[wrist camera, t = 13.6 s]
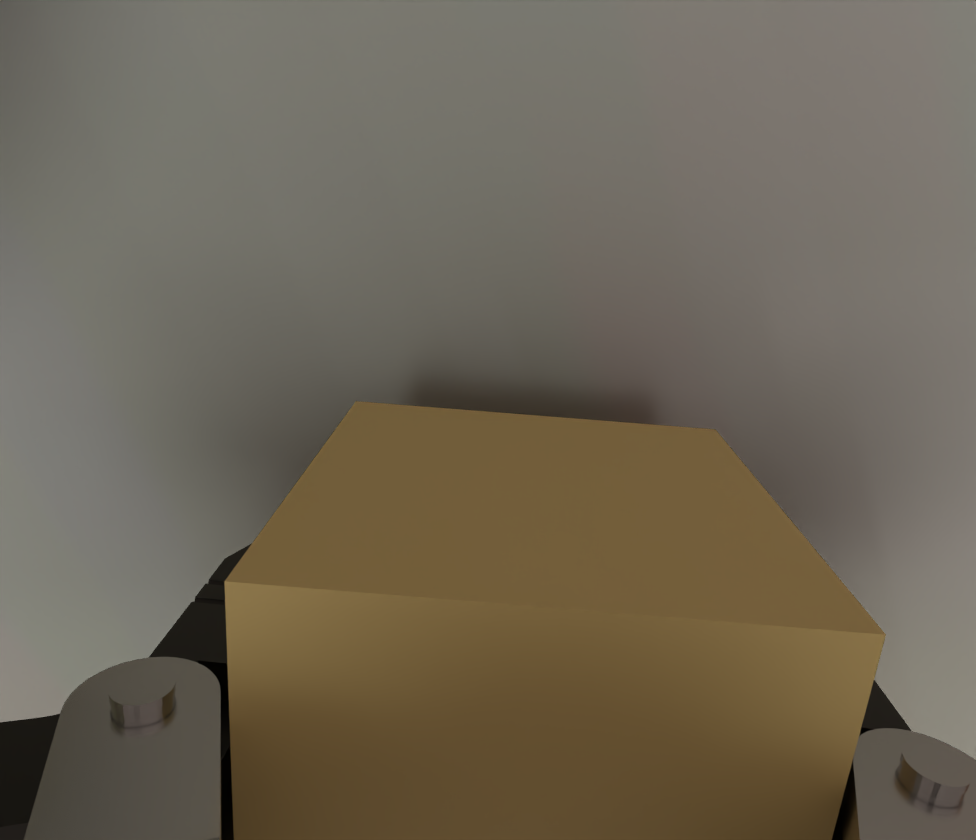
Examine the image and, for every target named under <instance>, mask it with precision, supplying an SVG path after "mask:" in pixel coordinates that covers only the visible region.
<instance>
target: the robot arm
mask: <svg viewBox="0 0 976 840" xmlns="http://www.w3.org/2000/svg"><path fill="white" fill-rule="evenodd" d="M250 546H251V544H250V545H248V546H246V547H245V548H243V549H241V550H239V551H238V552H236V553H234V554H232V555H231V556H229V557H227V558H225V559H224V561H223V562H222V563H221V565H220V566H219V567H218V569H217V570H216V571H215V572H214V574H213V575H212V576H211V578H210V579H209V583H208V584H205V585H204V587H203V588H202V589H201V591H200V592H199V593H198V594H197V596H196V597H195V602H191V603H190V605H189V606H188V607H187V609H186V610H185V611H184V613H183V614H182V615H181V616H180V618H179V619H178V620H177V622H176V623H175V624H174V625H173V627H172V628H171V629H170V631H169V632H168V633H167V635H166V636H165V637H164V638H163V640H162V641H161V642H160V644H159V645H158V646H157V647H156V649H155V650H154V651H153V653H152V654H151V655H150V657H149V658H143V659H136V660H132V661H128V662H124V663H121V664H118V665H115V666H112V667H110V668H108V669H105V670H103V671H101V672H99V673H97V674H96V675H94V676H92V677H90V678H89V679H87V680H86V681H85V682H83V683H82V684H81V685H79V686H78V687H77V688H76V689H75V690H74V691H73V692H72V693H71V694H70V696H69V697H68V698H67V700H66V701H65V703H64V705H63V707H62V710H61V713H60V714H57V715H53V716H47V717H41V718H34V719H26V720H17V721H9V722H1V723H0V840H234V831H233V804H232V776H231V748H230V721H229V693H228V666H227V638H226V611H225V583H224V581H225V580H226V579H227V577H228V576H229V575H230V573H231V572H232V570H233V569H234V568H235V566H236V565H237V564H238V562H239V561H240V559H241V558H242V557H243V555H244V554H245V553H246V551H247V550H248V548H249V547H250ZM832 840H976V760H975V759H973V758H972V757H970V756H968V755H967V754H965V753H964V752H962V751H960V750H958V749H957V748H955V747H953V746H951V745H949V744H947V743H944V742H942V741H940V740H937V739H935V738H932V737H930V736H927V735H924V734H921V733H917V732H913V731H911V730H910V728H909V727H908V725H907V724H906V723H905V721H904V720H903V719H902V717H901V716H900V715H899V713H898V712H897V710H896V709H895V708H894V706H893V705H892V704H891V702H890V701H889V700H888V698H887V697H886V695H885V694H884V693H883V691H882V690H881V689H880V687H879V686H878V684H877V683H876V682H875V680H874V681H873V685H872V689H871V693H870V696H869V700H868V704H867V708H866V712H865V715H864V719H863V723H862V727H861V730H860V734H859V738H858V742H857V746H856V749H855V753H854V757H853V761H852V764H851V768H850V772H849V776H848V780H847V783H846V787H845V791H844V795H843V798H842V802H841V806H840V810H839V814H838V817H837V821H836V825H835V829H834V832H833V836H832Z"/></svg>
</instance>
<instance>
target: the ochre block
mask: <svg viewBox="0 0 976 840" xmlns="http://www.w3.org/2000/svg"><path fill="white" fill-rule="evenodd" d="M224 583H225V611H226V638H227V666H228V693H229V721H230V748H231V776H232V804H233V831H234V840H832V836H833V832H834V829H835V825H836V821H837V817H838V814H839V810H840V806H841V802H842V798H843V795H844V791H845V787H846V783H847V780H848V776H849V772H850V768H851V764H852V761H853V757H854V753H855V749H856V746H857V742H858V738H859V734H860V730H861V727H862V723H863V719H864V715H865V712H866V708H867V704H868V700H869V696H870V693H871V689H872V685H873V681H874V678H875V674H876V670H877V666H878V662H879V659H880V655H881V651H882V647H883V644H884V640H885V636H886V634H885V633H884V632H883V631H882V630H881V628H880V627H879V626H878V625H877V624H876V622H875V621H874V620H873V619H872V617H871V616H870V615H869V614H868V613H867V611H866V610H865V609H864V608H863V607H862V605H861V604H860V603H859V602H858V601H857V599H856V598H855V597H854V596H853V595H852V593H851V592H850V591H849V590H848V589H847V587H846V586H845V585H844V584H843V583H842V581H841V580H840V579H839V578H838V577H837V575H836V574H835V573H834V572H833V571H832V569H831V568H830V567H829V566H828V565H827V563H826V562H825V561H824V560H823V559H822V557H821V556H820V555H819V554H818V553H817V551H816V550H815V549H814V548H813V546H812V545H811V544H810V543H809V542H808V540H807V539H806V538H805V537H804V536H803V534H802V533H801V532H800V531H799V530H798V528H797V527H796V526H795V525H794V524H793V522H792V521H791V520H790V519H789V518H788V516H787V515H786V514H785V513H784V512H783V510H782V509H781V508H780V507H779V506H778V504H777V503H776V502H775V501H774V500H773V498H772V497H771V496H770V495H769V494H768V492H767V491H766V490H765V489H764V488H763V486H762V485H761V484H760V483H759V481H758V480H757V479H756V478H755V477H754V475H753V474H752V473H751V472H750V471H749V469H748V468H747V467H746V466H745V465H744V463H743V462H742V461H741V460H740V459H739V457H738V456H737V455H736V454H735V453H734V451H733V450H732V449H731V448H730V447H729V445H728V444H727V443H726V442H725V441H724V439H723V438H722V437H721V436H720V435H719V433H718V432H717V431H716V430H715V429H703V428H690V427H678V426H665V425H652V424H639V423H626V422H614V421H601V420H588V419H575V418H563V417H550V416H537V415H524V414H512V413H499V412H486V411H473V410H461V409H448V408H435V407H422V406H409V405H397V404H384V403H371V402H358V401H356V402H355V403H354V405H353V406H352V407H351V409H350V410H349V411H348V413H347V414H346V416H345V417H344V418H343V420H342V421H341V422H340V424H339V425H338V426H337V428H336V429H335V431H334V432H333V433H332V435H331V436H330V437H329V439H328V440H327V442H326V443H325V444H324V446H323V447H322V448H321V450H320V451H319V453H318V454H317V455H316V457H315V458H314V459H313V461H312V462H311V463H310V465H309V466H308V468H307V469H306V470H305V472H304V473H303V474H302V476H301V477H300V479H299V480H298V481H297V483H296V484H295V485H294V487H293V488H292V490H291V491H290V492H289V494H288V495H287V496H286V498H285V499H284V501H283V502H282V503H281V505H280V506H279V507H278V509H277V510H276V511H275V513H274V514H273V516H272V517H271V518H270V520H269V521H268V522H267V524H266V525H265V527H264V528H263V529H262V531H261V532H260V533H259V535H258V536H257V538H256V539H255V540H254V542H253V543H252V544H251V546H250V547H249V548H248V550H247V551H246V553H245V554H244V555H243V557H242V558H241V559H240V561H239V562H238V564H237V565H236V566H235V568H234V569H233V570H232V572H231V573H230V575H229V576H228V577H227V579H226V580H225V581H224Z"/></svg>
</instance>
